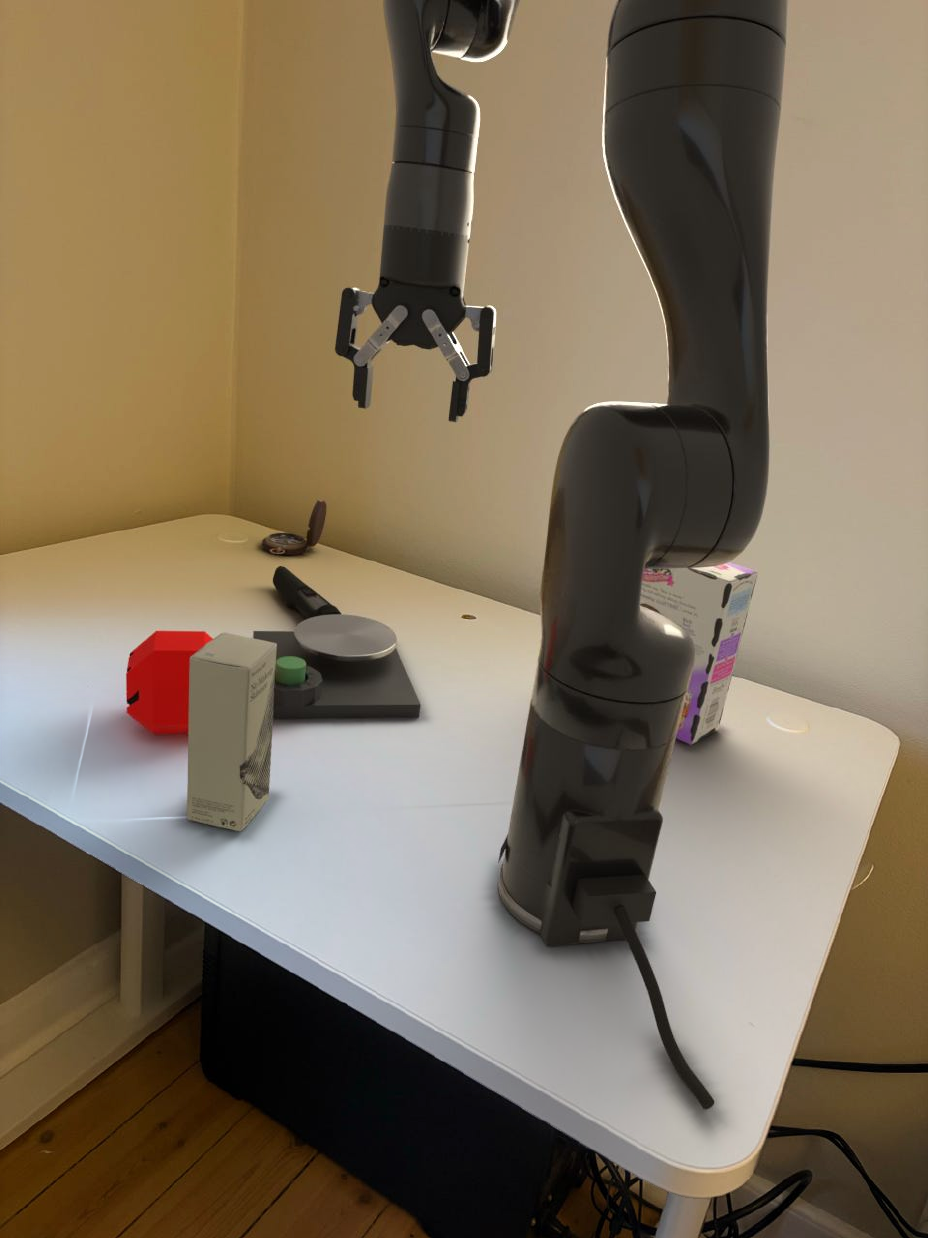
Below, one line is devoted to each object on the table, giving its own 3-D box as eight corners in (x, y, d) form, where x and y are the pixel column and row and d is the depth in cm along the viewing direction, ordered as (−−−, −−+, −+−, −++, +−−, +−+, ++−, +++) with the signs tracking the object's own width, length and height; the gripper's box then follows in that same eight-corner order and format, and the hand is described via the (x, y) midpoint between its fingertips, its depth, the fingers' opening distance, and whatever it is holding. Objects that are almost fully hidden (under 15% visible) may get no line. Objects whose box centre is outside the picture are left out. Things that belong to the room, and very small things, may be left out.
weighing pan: (405, 662, 87) (405, 656, 87) (298, 661, 84) (298, 655, 84) (386, 620, 96) (387, 614, 96) (289, 618, 93) (289, 613, 93)
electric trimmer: (295, 588, 110) (296, 562, 109) (350, 638, 98) (352, 610, 97) (264, 590, 108) (265, 565, 107) (317, 642, 96) (318, 613, 95)
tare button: (306, 686, 81) (307, 668, 80) (276, 686, 80) (277, 668, 79) (303, 673, 83) (304, 655, 82) (274, 673, 82) (274, 655, 81)
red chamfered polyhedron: (132, 701, 80) (131, 620, 77) (227, 700, 82) (229, 621, 79) (125, 748, 73) (123, 661, 70) (229, 746, 75) (231, 662, 72)
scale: (419, 719, 83) (423, 690, 82) (258, 721, 79) (260, 691, 78) (388, 644, 97) (390, 618, 96) (250, 643, 93) (251, 616, 92)
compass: (269, 538, 125) (271, 486, 122) (326, 547, 124) (330, 495, 122) (250, 556, 117) (252, 501, 115) (311, 565, 117) (314, 510, 114)
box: (242, 835, 64) (248, 670, 60) (183, 821, 65) (185, 657, 60) (271, 796, 69) (280, 640, 64) (217, 783, 70) (221, 628, 65)
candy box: (720, 730, 89) (762, 570, 82) (690, 748, 84) (731, 581, 78) (604, 676, 97) (634, 526, 91) (570, 690, 93) (599, 534, 86)
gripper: (336, 213, 77) (323, 408, 83) (504, 235, 76) (479, 431, 82) (357, 218, 84) (344, 398, 90) (512, 238, 83) (488, 419, 89)
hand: (408, 413), depth 86 cm, fingers open, 8 cm apart
